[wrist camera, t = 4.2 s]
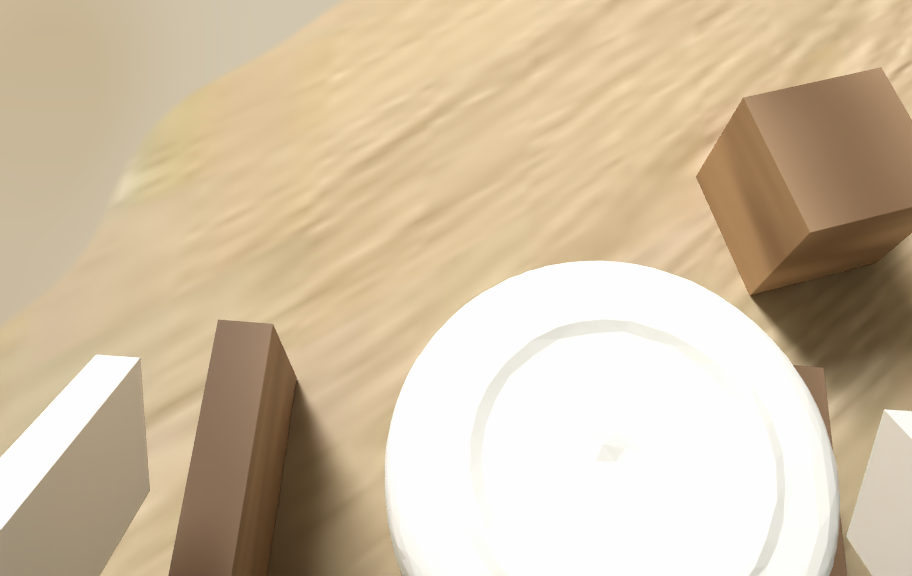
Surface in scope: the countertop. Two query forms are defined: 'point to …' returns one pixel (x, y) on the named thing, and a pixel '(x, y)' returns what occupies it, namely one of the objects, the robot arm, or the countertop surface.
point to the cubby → (271, 455)
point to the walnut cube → (812, 179)
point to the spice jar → (608, 437)
